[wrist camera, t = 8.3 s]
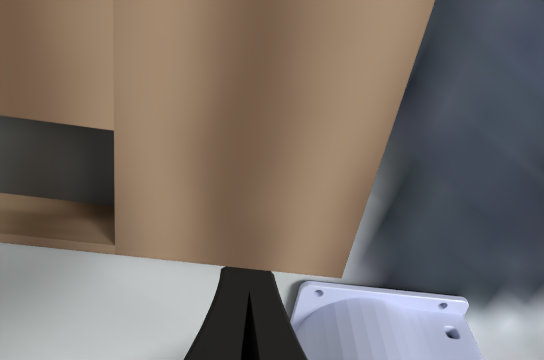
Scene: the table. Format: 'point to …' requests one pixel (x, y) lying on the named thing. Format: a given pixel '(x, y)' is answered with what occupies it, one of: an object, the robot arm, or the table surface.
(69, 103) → the trap deck
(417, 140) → the table surface
